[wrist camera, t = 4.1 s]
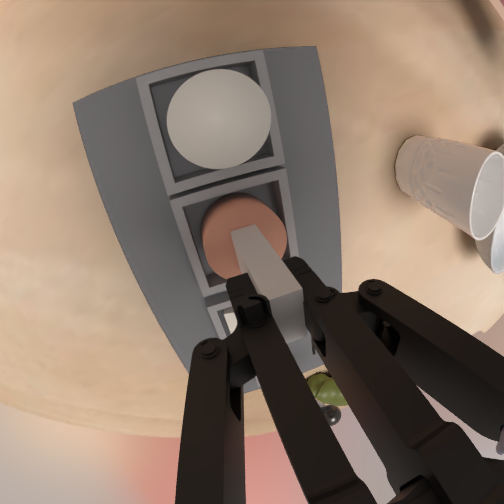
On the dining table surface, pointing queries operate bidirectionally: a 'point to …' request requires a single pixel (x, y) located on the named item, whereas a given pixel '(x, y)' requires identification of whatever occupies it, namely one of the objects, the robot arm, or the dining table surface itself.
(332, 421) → the toggle lever
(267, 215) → the terracotta button
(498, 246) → the serving bowl
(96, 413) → the dining table surface
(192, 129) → the cream button
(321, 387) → the green rounded piece
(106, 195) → the switch panel
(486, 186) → the white cup
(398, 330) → the robot arm
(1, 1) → the dining table surface
